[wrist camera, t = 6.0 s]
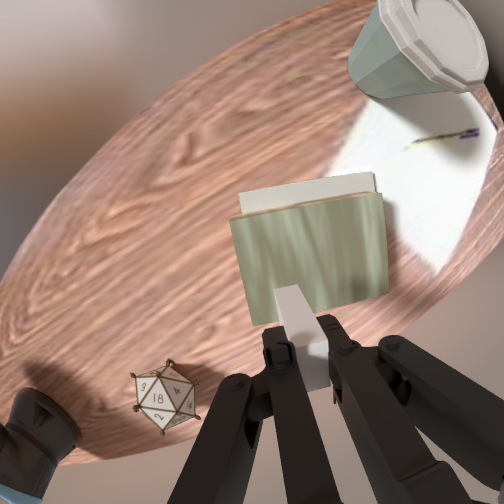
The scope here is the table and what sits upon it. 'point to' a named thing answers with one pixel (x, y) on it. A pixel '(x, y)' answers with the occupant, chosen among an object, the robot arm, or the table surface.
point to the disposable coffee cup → (418, 50)
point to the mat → (305, 192)
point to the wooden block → (313, 252)
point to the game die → (165, 397)
